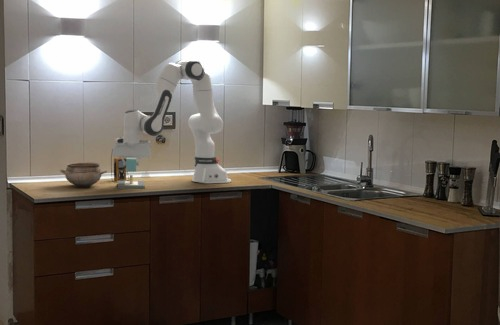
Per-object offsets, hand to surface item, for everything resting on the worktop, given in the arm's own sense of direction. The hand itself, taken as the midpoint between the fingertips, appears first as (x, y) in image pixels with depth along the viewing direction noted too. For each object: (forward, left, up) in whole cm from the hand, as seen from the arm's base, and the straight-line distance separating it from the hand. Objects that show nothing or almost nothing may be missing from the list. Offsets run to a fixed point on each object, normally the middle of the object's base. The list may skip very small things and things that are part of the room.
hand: (131, 165), depth 367 cm
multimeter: (+3, -18, -12) cm, 22 cm away
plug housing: (0, 0, -3) cm, 3 cm away
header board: (0, 0, -11) cm, 11 cm away
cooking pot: (+25, +1, -12) cm, 28 cm away
